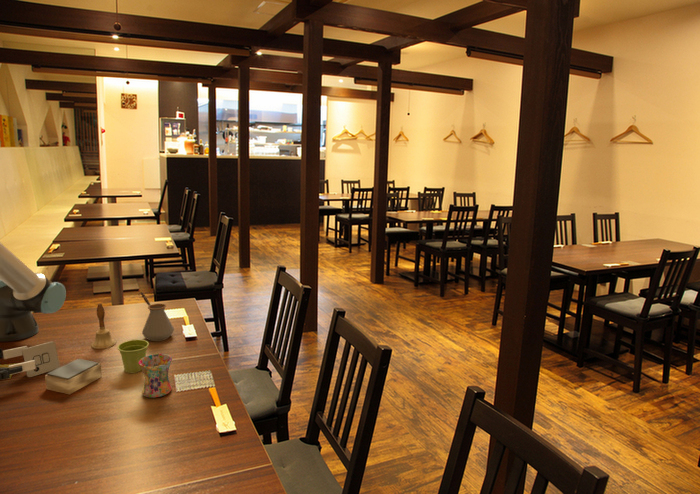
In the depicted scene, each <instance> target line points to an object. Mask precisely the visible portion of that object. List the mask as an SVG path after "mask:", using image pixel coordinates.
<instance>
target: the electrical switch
mask: <svg viewBox="0 0 700 494" xmlns="http://www.w3.org/2000/svg"><path fill="white" fill-rule="evenodd" d="M21 356H23V360H24V361H23V362H27V361H32V360H35V368H36V369H33V370H29V371H25V372H26V377H27V378H32V377H36V376H39V375H42V374H45V373H46V374H47V373H49V372H52V371H54V370H56V369H58V368H60V367H61V365H60V359H59V355H58V351H57V346H56V342H55V341H48V342H44V343H41V344H37V345H33V346H30V347H27V348H25V349H23V350H22V355H21Z"/></svg>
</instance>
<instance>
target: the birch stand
mask: <svg viewBox="0 0 700 494" xmlns="http://www.w3.org/2000/svg"><path fill="white" fill-rule="evenodd" d="M44 376H45V377H44V379H45V380H44V381H45V387H46V390H49V391H53V392H58V393H62V394H66V395H71V394H73V393H75V392H77V391H78V390H80V389H83V388H84V387H86V386H87V385H89V384H91V383H93V382H95V381H96V380H99V379H100V378H102V377H103V376H102V365H101V363H99V362H97V361H92V360H88V359H87V360H86V359H82V358H77V359H74V360H73V361H70V362H69V363H66V364H64V365H62V366H60V367H59V368H58V369H56V370H52V371H49V372H46V374H45V375H44Z"/></svg>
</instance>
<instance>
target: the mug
mask: <svg viewBox="0 0 700 494" xmlns="http://www.w3.org/2000/svg"><path fill="white" fill-rule="evenodd" d="M172 360H173V357H172V356H171V355H169V354H166V353H152V354H149V355H146V357H144V358H142V359H141V360H140V361H139V366H140V367H141V369H142V371H141V372H142V374H143V378H144V382H143V383H144V384H143V387H142V390H141V393H142V395H143V396H144V397H146V398H160V397H164V396H166V395H168V394H169V393H170V392H171V391H172V389H173V386H172V384H171V383H170V379H169V370H170V366H171V364H172Z"/></svg>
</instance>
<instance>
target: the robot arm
mask: <svg viewBox="0 0 700 494" xmlns="http://www.w3.org/2000/svg"><path fill="white" fill-rule="evenodd" d="M66 297H67V290H66V287H65V285H64V284H63V283H61V282H59V281H51V280H50V279H48V277H46V275H44V274H43V273H41V272H34V271H33V270H32V269H31V268H29V266H27V264H25V263H24V262H22V261H21V259H20V258H18V257H17V256H16V255H15V254H14V253H13V252H12V251H10V250H9V249H8V248H7V247H6V246H5V245H4V244H3V243H1V242H0V342H1V343H3V342H16V341H19V340H20V341H21V340H24V339H28V338H30V337H33V336H35V335H37V333H39V324H38V323H37V320H36V319H35V317H34V315H33V313H42V314H53V313H56V312H58V311H59V310H60V309H61V308H62V307H63V306H64V303H65V301H66ZM25 348H28V345H24V346H20V347H14V348H10V349H9V348H8V349H4V350H3V348H2V347H1V348H0V360H2V359H3V360H7V359H11V358H16V357H21V356H23V355H22V350H23V349H25ZM33 369H35V370H37V367H36V368H35V360H32V361H27V362H24V361H23V362H20V363H15V364H11V365H10V364H9V365H8V367H0V381H5V380H10V379H11V376H12V375H15V374H19V373H23V372H24V373H25V372H27V371H29V370H33Z"/></svg>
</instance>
